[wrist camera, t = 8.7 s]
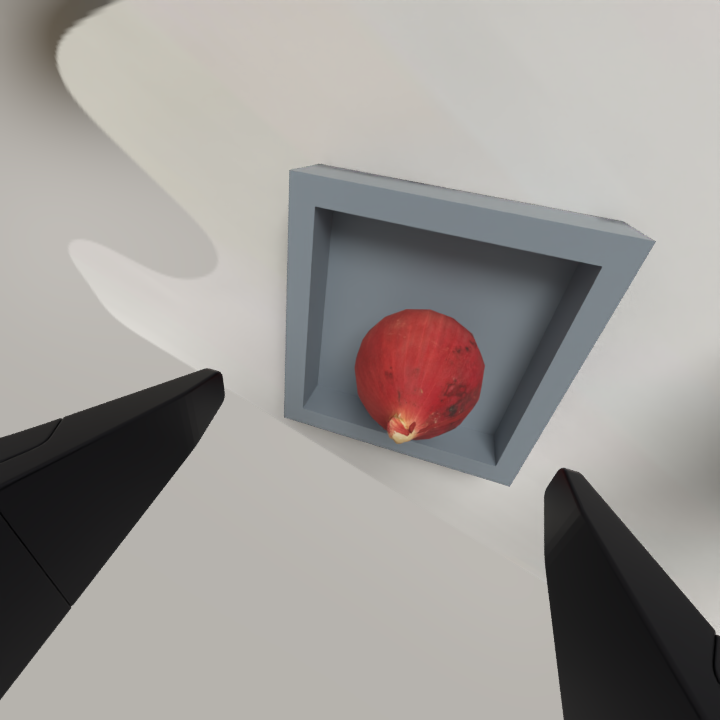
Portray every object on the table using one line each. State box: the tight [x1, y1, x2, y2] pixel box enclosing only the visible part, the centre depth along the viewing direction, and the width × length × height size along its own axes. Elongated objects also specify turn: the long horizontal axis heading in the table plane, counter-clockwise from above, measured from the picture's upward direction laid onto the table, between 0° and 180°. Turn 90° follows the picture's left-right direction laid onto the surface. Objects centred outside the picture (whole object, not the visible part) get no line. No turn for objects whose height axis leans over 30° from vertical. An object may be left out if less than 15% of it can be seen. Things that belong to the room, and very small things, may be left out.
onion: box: [355, 309, 485, 444], centre depth 16 cm, size 6×6×8 cm
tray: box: [284, 164, 656, 486], centre depth 19 cm, size 14×14×4 cm
